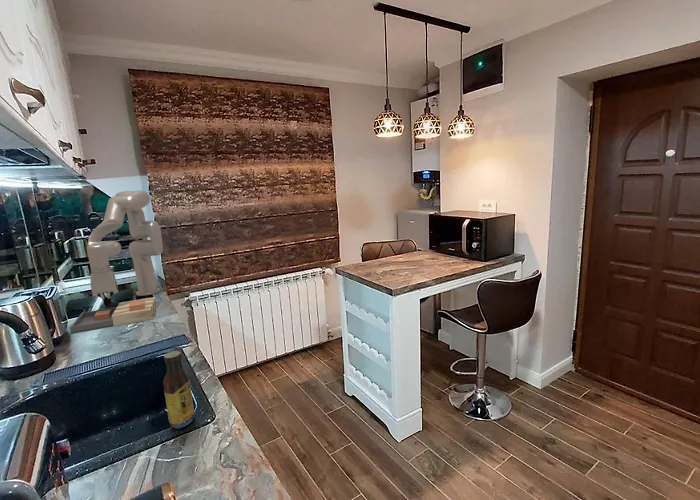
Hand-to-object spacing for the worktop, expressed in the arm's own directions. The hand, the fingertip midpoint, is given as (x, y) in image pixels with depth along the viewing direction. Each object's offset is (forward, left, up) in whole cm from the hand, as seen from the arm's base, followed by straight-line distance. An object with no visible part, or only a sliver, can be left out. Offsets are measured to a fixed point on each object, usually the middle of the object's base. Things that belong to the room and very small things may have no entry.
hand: (108, 305), depth 178 cm
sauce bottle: (+105, +36, -6) cm, 111 cm away
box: (+5, -4, -6) cm, 9 cm away
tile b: (+10, +14, -1) cm, 17 cm away
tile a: (+1, -3, -3) cm, 4 cm away
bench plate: (+5, +12, -6) cm, 14 cm away
